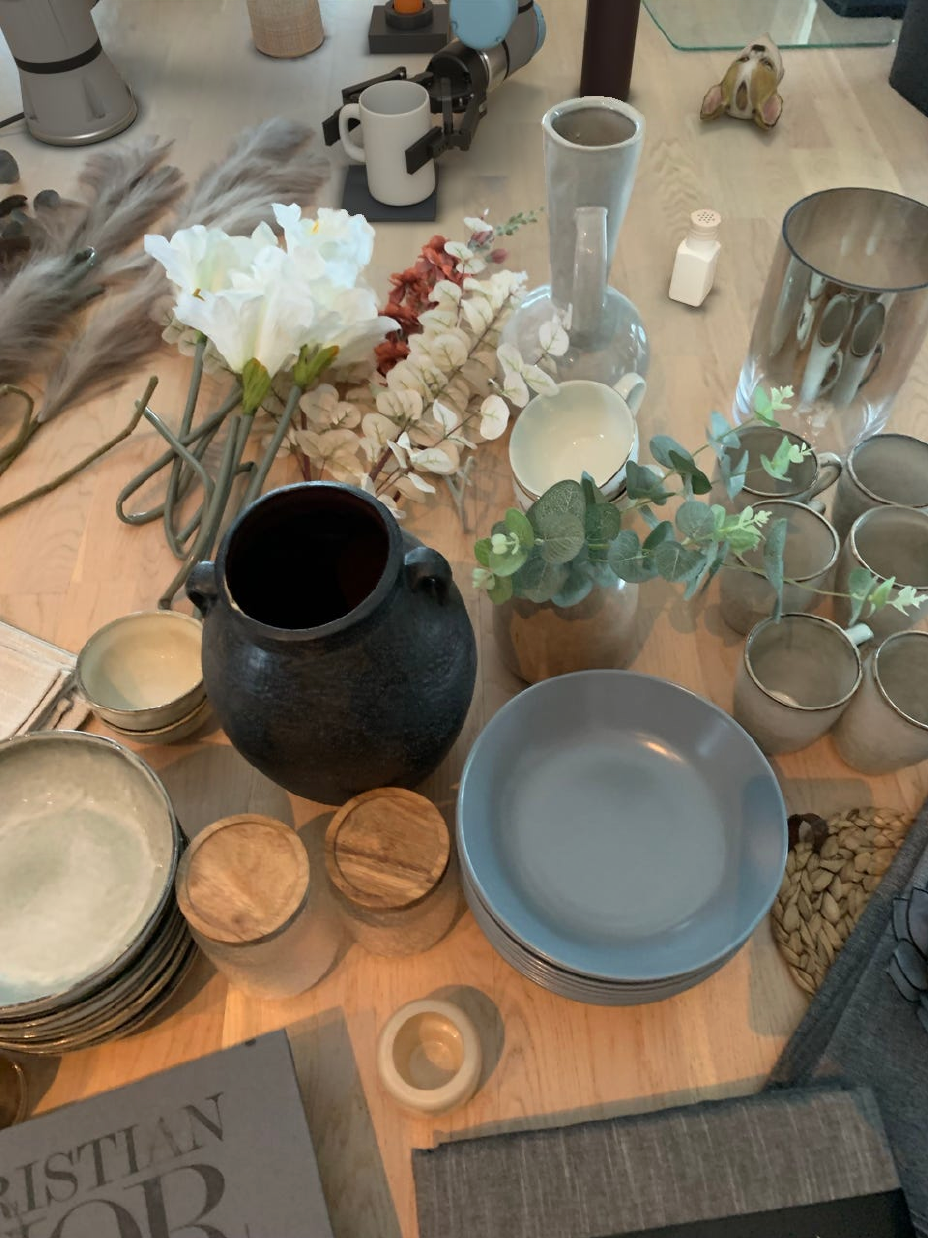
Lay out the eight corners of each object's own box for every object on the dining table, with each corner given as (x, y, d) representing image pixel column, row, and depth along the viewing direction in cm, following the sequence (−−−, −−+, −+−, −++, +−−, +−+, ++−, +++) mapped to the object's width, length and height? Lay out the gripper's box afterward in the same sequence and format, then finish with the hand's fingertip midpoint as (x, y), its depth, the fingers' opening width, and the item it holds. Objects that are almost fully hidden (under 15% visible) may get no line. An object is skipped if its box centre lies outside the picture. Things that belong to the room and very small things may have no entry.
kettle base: (370, 54, 132) (366, 21, 129) (375, 24, 138) (372, -9, 134) (447, 52, 132) (446, 19, 128) (450, 22, 137) (448, -10, 134)
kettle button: (393, 15, 130) (392, -1, 129) (395, 2, 133) (394, -14, 131) (422, 14, 130) (421, -1, 128) (423, 1, 133) (422, -14, 131)
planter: (261, 27, 138) (247, -44, 130) (328, 26, 138) (318, -45, 130) (249, 60, 132) (234, -12, 124) (319, 59, 132) (308, -13, 124)
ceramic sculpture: (810, 24, 115) (786, 84, 108) (793, 90, 122) (769, 150, 116) (731, 13, 117) (703, 71, 111) (719, 79, 125) (691, 137, 118)
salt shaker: (665, 299, 98) (680, 221, 90) (679, 280, 100) (695, 202, 92) (698, 309, 97) (716, 232, 89) (712, 290, 99) (731, 212, 91)
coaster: (339, 221, 108) (339, 217, 108) (349, 169, 115) (348, 164, 114) (434, 220, 108) (434, 216, 108) (438, 168, 115) (438, 163, 114)
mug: (444, 174, 111) (440, 84, 102) (421, 211, 107) (414, 120, 98) (360, 160, 114) (348, 71, 105) (333, 195, 110) (318, 105, 100)
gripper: (543, 125, 112) (450, 207, 103) (394, 79, 120) (295, 152, 110) (545, 62, 106) (447, 144, 96) (389, 18, 114) (283, 90, 104)
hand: (366, 148), depth 103 cm, fingers closed on mug, 12 cm apart
